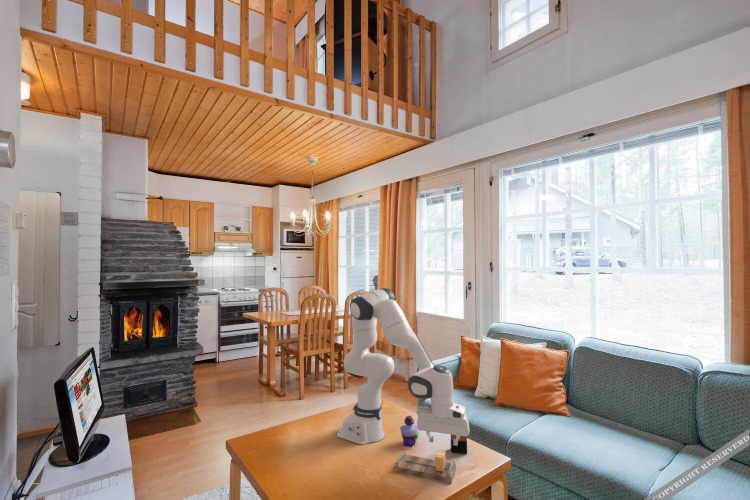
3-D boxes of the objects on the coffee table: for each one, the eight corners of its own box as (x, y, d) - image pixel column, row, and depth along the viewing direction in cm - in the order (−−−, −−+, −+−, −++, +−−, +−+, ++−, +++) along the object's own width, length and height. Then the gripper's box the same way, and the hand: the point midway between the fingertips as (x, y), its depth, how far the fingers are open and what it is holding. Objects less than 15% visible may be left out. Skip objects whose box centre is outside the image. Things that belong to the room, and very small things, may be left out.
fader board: (395, 471, 146) (395, 463, 146) (402, 458, 155) (402, 450, 155) (451, 483, 138) (451, 474, 138) (455, 469, 147) (455, 460, 147)
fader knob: (435, 470, 143) (435, 456, 143) (438, 463, 147) (437, 450, 147) (443, 471, 141) (443, 458, 142) (445, 464, 146) (445, 451, 146)
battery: (467, 454, 158) (466, 431, 158) (451, 453, 159) (450, 429, 159) (466, 449, 162) (466, 426, 162) (450, 448, 163) (450, 425, 163)
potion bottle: (417, 449, 162) (416, 422, 162) (397, 447, 165) (397, 419, 165) (420, 440, 170) (420, 414, 171) (402, 438, 173) (401, 412, 173)
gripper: (414, 408, 146) (415, 443, 146) (467, 414, 140) (468, 451, 140) (418, 402, 152) (419, 435, 152) (469, 407, 146) (470, 442, 146)
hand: (443, 443), depth 146 cm, fingers open, 8 cm apart
